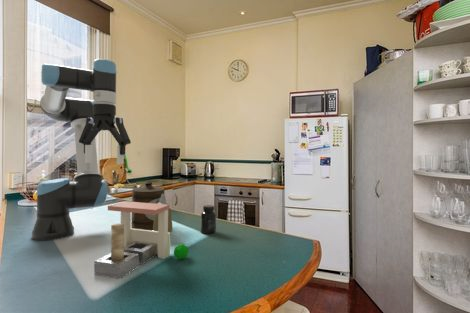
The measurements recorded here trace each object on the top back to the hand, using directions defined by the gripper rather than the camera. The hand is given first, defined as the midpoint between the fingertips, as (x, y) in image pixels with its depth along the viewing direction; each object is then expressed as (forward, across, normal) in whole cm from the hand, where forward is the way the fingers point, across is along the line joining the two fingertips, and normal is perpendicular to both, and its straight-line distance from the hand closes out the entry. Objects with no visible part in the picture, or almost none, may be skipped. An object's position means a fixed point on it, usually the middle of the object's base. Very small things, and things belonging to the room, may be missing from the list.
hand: (104, 163), depth 105 cm
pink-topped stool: (+32, +16, -2) cm, 35 cm away
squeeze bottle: (+32, +12, +21) cm, 40 cm away
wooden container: (+32, -2, +32) cm, 45 cm away
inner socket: (+32, +16, -2) cm, 35 cm away
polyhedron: (+32, +30, +2) cm, 44 cm away
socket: (+32, +16, -13) cm, 38 cm away
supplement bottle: (+32, +28, +33) cm, 54 cm away
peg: (+32, +16, -13) cm, 38 cm away
